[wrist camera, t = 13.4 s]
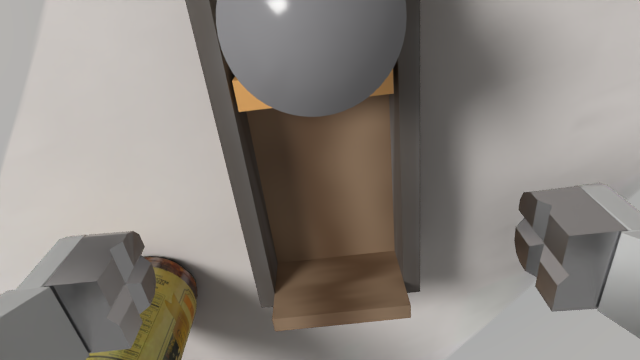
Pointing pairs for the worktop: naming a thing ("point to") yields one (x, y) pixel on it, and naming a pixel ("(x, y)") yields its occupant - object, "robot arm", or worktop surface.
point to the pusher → (252, 103)
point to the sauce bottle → (162, 317)
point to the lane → (325, 192)
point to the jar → (311, 50)
